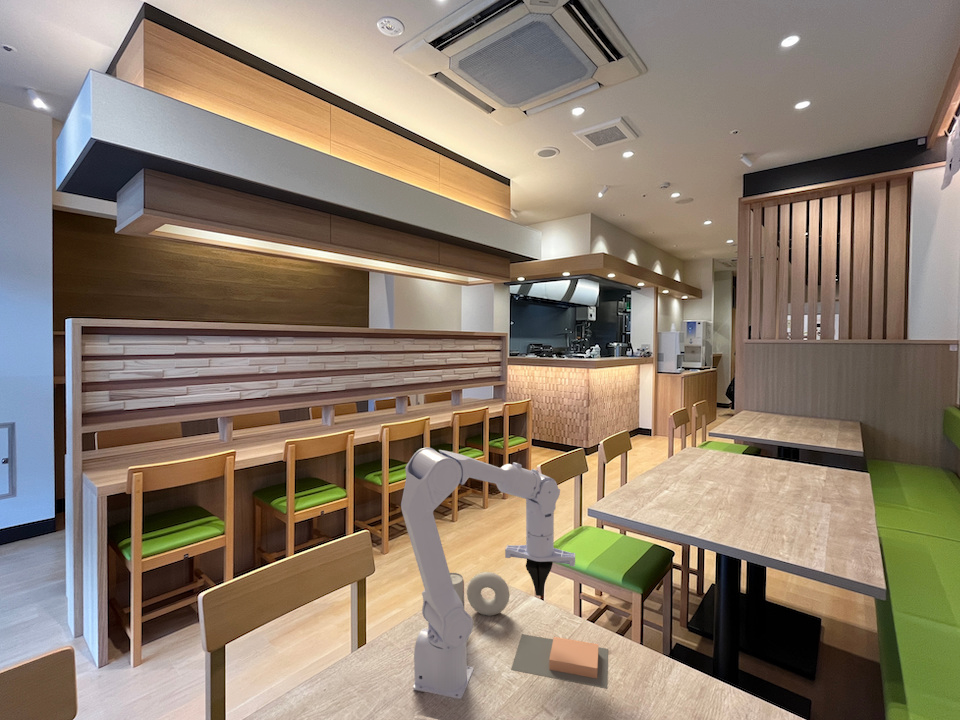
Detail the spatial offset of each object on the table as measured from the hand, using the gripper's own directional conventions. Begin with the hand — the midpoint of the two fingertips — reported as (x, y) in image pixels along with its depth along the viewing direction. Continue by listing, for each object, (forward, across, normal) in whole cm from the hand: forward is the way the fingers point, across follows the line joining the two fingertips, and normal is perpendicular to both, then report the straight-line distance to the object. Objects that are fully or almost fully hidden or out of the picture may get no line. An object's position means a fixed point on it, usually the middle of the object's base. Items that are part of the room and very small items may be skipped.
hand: (539, 593), depth 99 cm
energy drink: (+11, +19, +2) cm, 22 cm away
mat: (+10, -5, +5) cm, 13 cm away
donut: (+11, +13, -6) cm, 18 cm away
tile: (+9, -3, +5) cm, 11 cm away
